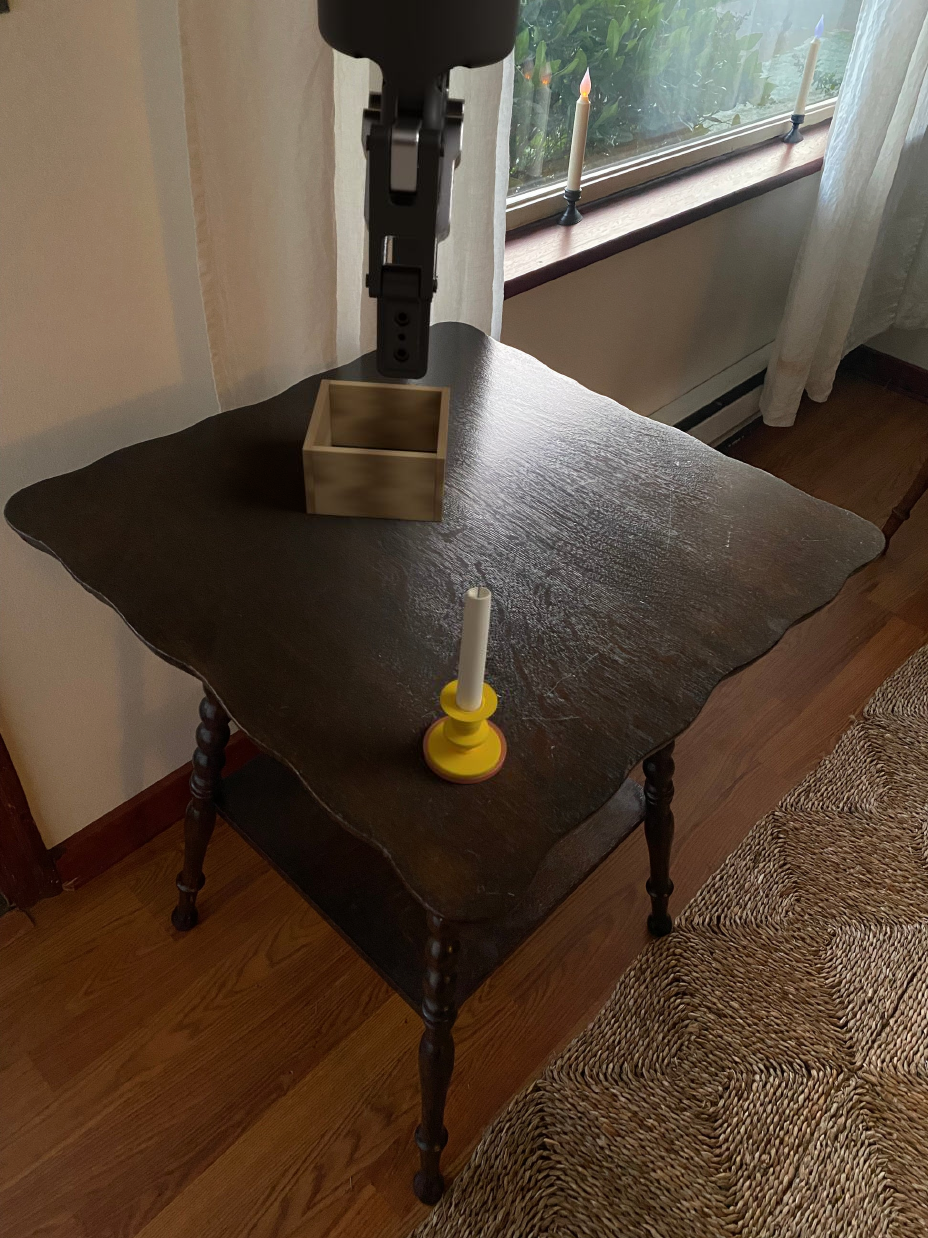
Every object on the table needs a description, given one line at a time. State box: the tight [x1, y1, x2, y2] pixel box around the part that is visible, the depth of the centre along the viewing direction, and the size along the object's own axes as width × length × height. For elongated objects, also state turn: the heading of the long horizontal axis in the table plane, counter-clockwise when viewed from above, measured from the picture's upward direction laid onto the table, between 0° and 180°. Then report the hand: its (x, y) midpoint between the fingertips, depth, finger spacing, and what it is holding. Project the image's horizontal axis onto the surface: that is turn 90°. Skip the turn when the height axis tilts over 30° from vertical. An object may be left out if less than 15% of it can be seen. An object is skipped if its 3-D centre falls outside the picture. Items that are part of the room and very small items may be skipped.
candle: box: [428, 585, 501, 779], centre depth 58 cm, size 5×5×16 cm
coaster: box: [422, 715, 508, 785], centre depth 64 cm, size 6×6×1 cm
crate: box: [301, 379, 451, 523], centre depth 86 cm, size 13×13×7 cm
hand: (408, 330), depth 42 cm, fingers open, 8 cm apart
